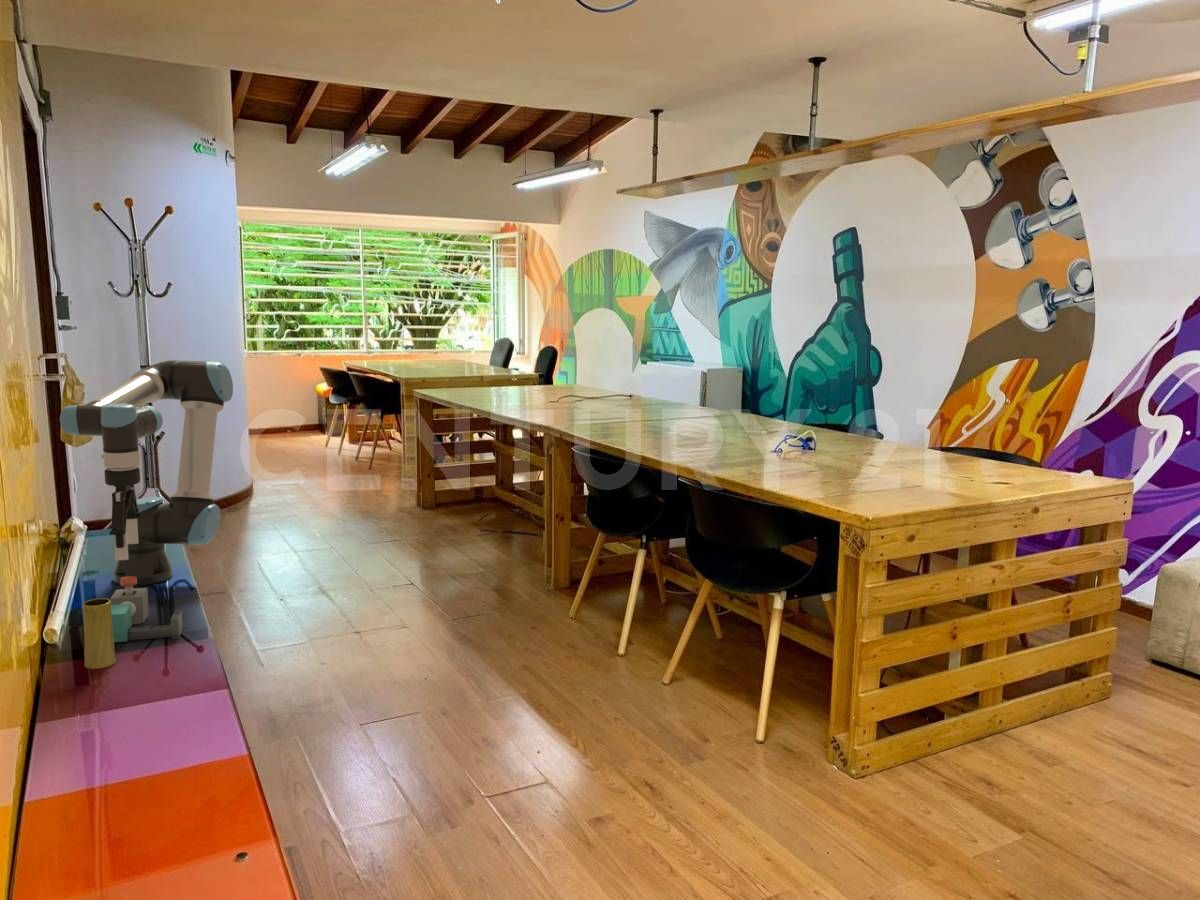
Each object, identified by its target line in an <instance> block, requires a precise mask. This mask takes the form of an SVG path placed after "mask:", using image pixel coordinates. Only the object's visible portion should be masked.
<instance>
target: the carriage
mask: <svg viewBox="0 0 1200 900" xmlns="http://www.w3.org/2000/svg"><path fill="white" fill-rule="evenodd" d="M111 617H112V627H113V638H114V643H122V642H128V641H129V640H128V630H129V628H133V626H132V625H133V624H132V614H131V604H119V605H111Z"/></svg>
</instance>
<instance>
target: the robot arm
mask: <svg viewBox="0 0 1200 900" xmlns="http://www.w3.org/2000/svg"><path fill="white" fill-rule="evenodd" d="M233 384H234V383H233V379H232V375H231V372H230V369H229V368H228V367H227V365H226V364H224V363H222V362H219V361H210V360H205V361H204V360H177V359H176V360H175V359H172V360H171V359H170V360H164V361H162V362H158V363H155V364H151V365H148V366H146V367H144V368H142V369H139V370H138V371H136V372H135V373H134V374H132V375H131V377H130V379H129V380H128V381H126V382H124V383H122V384H121V385H119V386H117V387H115V388H113V389H111V390H109V391H108V392H106V393H105V394H102V395H101V396H99V397H97V398H95V399H93V400H92V401H90V402H88V403H86V404H84V405H83V404H82V405H79V404H74V405H66V406H64V408H63V409H62V410H61V412H60V415H59V422H60V428H61V429H62V431H63V432H64V433H65V434H66V435H72V436H73V435H74V436H79V437H82V436H83V437H84V436H86V437H88V436H89V437H91V436H92V437H93V436H94V437H102V451H103V454H101V455H100V458H101V459H102V460H103V466H104V468H105V469H104V470H103V471H104V483H105V485H107V486H110V487H115V491H114V492H112V494H111V500H112V501H111V502H112V504H111V505H112V506H111V528H110V529H111V530H110V531H109V536H113V547H114V548H113V549H114V561H116V564H115V566H114V569H113V573H112V574H113V575H112V576H113V578H112V579H113V582H114V583H115V584H118V585H121V582H120V578H122V577H126V576H136V577H137V584H136V585H135V586H144V585H151V584H152V585H153V584H156V583H161V582H164V581H166V580H169V579H171V578H172V576H173V566H172V564H171V561H170V559H169V556H168V554H167V552H166V548H165V546H166V545H190V546H195V545H207V544H210V542H212V541H213V539H214V538H215V537H216V535H217V533H218V531H219V528H220V523H221V517H222V515H221V508H220V507H219V505H217V504H216V503H215V498H214V497H213V496H212V495H211V494H210V490H211V489H210V488H211V479H212V469H213V459H214V449H215V442H216V441H215V440H216V428H217V420H218V419H217V418H218V413H219V412H221V411H222V410H223V409H224V405H225V403H227V402H229V401H231V400H232V397H233V393H234V385H233ZM159 400H179V401H180V402H179V405H180V406H181V407H182V409H184V420H183V426H182V427H183V429H182V438H181V447H180V456H179V457H180V458H179V467H178V476H177V484H176V490H175V492H174V493H173V494H171V495H170V496H169V503H166V502H165V501H164V499H163V497H161V496H147V497H141V498H137V496H136V490H135V485H137V484H139V483H140V482H141V469H140V468H139V466H140V450H139V439H142V438H144V437H149V436H153V435H154V434H155V433H157V432H158V431H160V429H161V428H162V426H163V422H164V419H163V415H162V414H161V411H159V410H158V409H157V408H156V407H154V406H152V405H146V404H147V403H151V404H152V403H155V402H157V401H159ZM164 502H165V503H164Z"/></svg>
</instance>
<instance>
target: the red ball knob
mask: <svg viewBox="0 0 1200 900" xmlns="http://www.w3.org/2000/svg"><path fill="white" fill-rule="evenodd" d="M120 582H121V584H120V587H124V589H125V595H133V589H134V586H137V585H136V584H137V577H136V576H126V577H122V578H120Z"/></svg>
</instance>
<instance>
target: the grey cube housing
mask: <svg viewBox="0 0 1200 900" xmlns="http://www.w3.org/2000/svg"><path fill="white" fill-rule="evenodd" d="M110 600H111V605H119V604H131V614H132V625H138V624H139V625H140V624H141V623H145V622H146V620H147V618H148V616H149V594H148V587H138V588H137V587H135V588H133V595H125V588H123V589H122V588H121V589H116V590H115V591H114V592H113V594H112V595H111V597H110ZM145 619H146V620H145ZM144 621H145V622H144Z"/></svg>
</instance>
